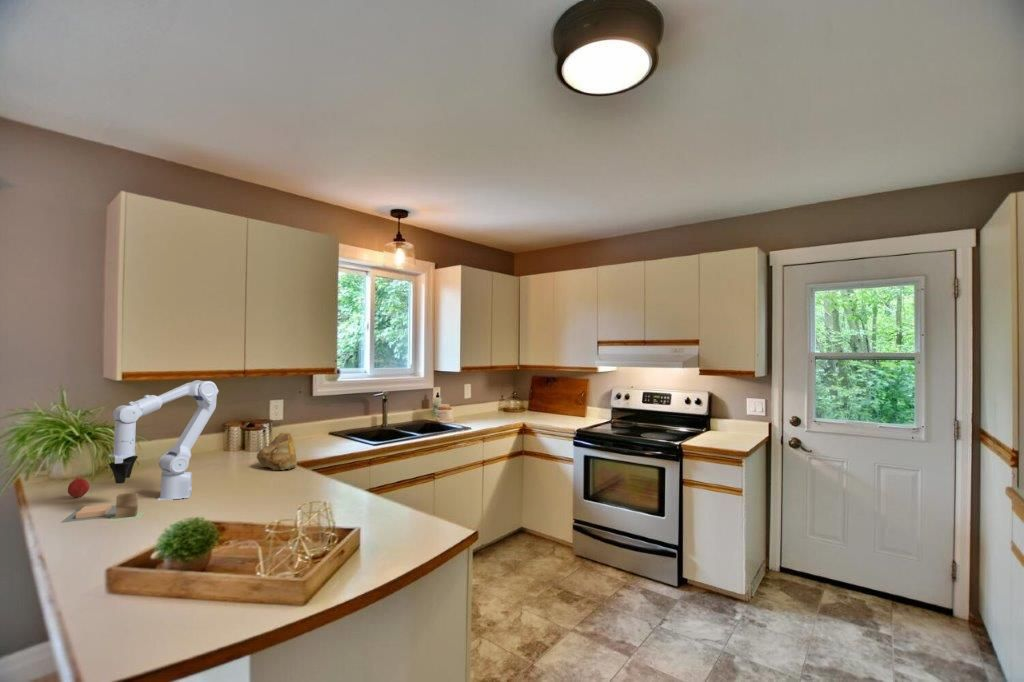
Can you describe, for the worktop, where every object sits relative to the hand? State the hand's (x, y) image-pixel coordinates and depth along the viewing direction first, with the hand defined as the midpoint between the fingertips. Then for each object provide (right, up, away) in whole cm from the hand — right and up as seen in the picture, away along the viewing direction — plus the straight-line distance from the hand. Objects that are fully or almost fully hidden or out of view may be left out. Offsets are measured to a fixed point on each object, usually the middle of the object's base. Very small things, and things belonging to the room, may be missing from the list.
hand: (123, 480), depth 162 cm
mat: (-4, -9, -7) cm, 12 cm away
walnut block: (+9, -9, -9) cm, 16 cm away
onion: (-24, -10, +10) cm, 28 cm away
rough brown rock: (+22, -12, +62) cm, 67 cm away
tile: (-5, -8, -4) cm, 10 cm away
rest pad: (+9, -9, -10) cm, 16 cm away
